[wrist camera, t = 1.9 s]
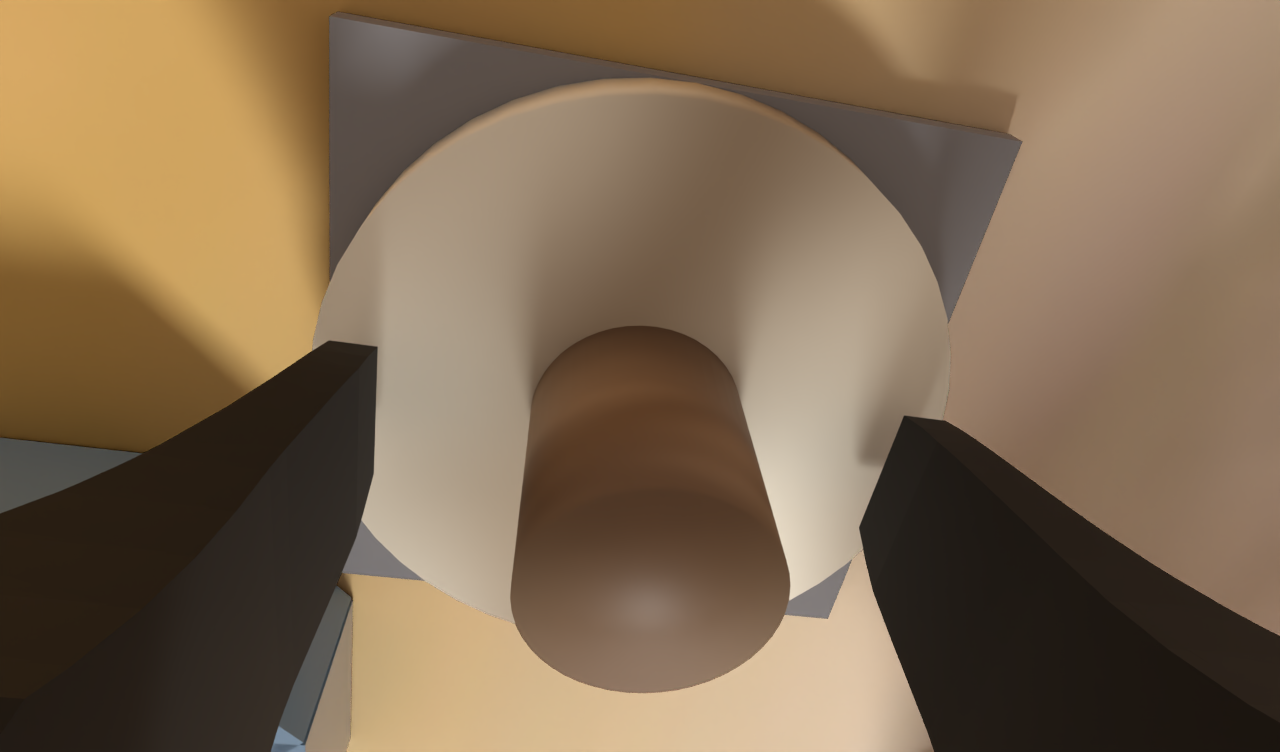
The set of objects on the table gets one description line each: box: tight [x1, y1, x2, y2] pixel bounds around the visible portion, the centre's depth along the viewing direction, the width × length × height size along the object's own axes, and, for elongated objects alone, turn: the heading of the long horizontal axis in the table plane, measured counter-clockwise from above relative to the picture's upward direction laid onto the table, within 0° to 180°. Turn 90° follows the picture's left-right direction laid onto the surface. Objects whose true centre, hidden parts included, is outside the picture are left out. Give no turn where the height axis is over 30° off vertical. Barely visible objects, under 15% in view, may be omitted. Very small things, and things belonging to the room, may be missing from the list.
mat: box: [329, 12, 1022, 619], centre depth 13 cm, size 9×9×1 cm
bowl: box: [0, 438, 353, 752], centre depth 14 cm, size 10×10×3 cm
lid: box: [312, 78, 951, 693], centre depth 11 cm, size 9×9×4 cm
